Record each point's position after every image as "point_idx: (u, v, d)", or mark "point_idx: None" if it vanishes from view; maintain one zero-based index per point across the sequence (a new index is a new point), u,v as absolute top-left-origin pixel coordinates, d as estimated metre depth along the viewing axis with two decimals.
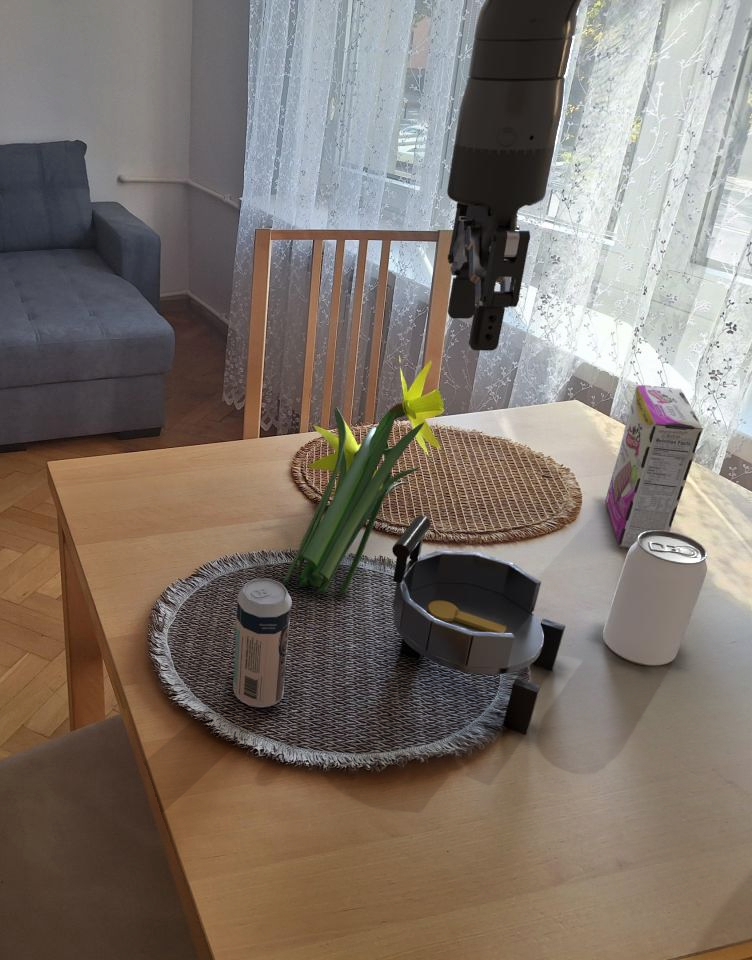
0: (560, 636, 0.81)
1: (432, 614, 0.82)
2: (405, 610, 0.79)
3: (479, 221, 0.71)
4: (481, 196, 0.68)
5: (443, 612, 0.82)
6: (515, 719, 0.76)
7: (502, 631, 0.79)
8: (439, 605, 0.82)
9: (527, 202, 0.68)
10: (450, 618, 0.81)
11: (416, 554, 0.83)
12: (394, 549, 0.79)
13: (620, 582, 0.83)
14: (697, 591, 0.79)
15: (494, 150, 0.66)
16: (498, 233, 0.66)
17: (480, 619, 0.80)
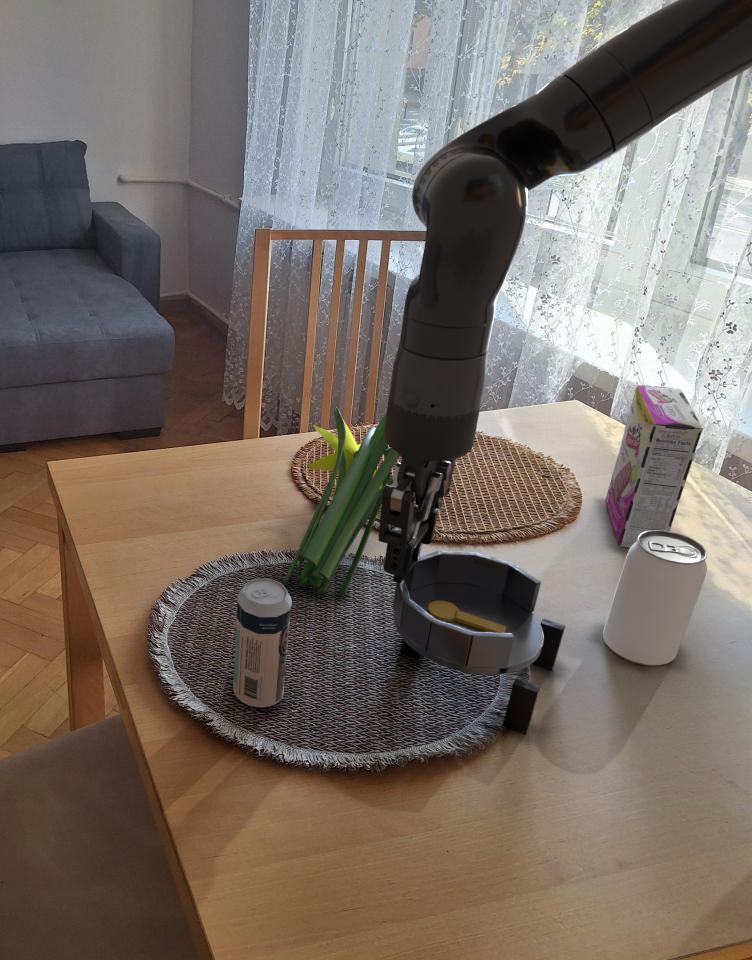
0: (560, 636, 0.81)
1: (432, 614, 0.82)
2: (404, 610, 0.79)
3: None
4: (394, 443, 0.74)
5: (443, 612, 0.82)
6: (515, 719, 0.76)
7: (502, 631, 0.79)
8: (439, 605, 0.82)
9: (433, 458, 0.73)
10: (450, 618, 0.81)
11: (416, 554, 0.83)
12: None
13: (620, 582, 0.83)
14: (697, 591, 0.79)
15: (402, 408, 0.72)
16: (385, 490, 0.73)
17: (480, 619, 0.80)
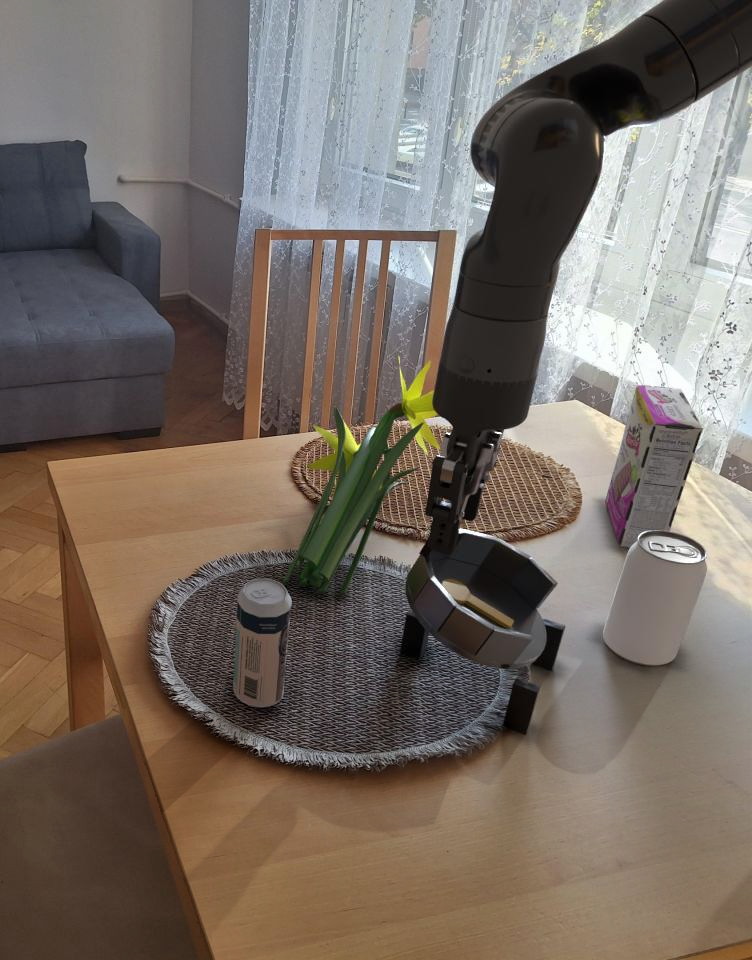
0: (560, 636, 0.81)
1: None
2: (426, 587, 0.76)
3: None
4: (444, 411, 0.71)
5: (456, 593, 0.80)
6: (515, 719, 0.76)
7: (510, 625, 0.78)
8: (452, 584, 0.81)
9: (487, 428, 0.69)
10: (462, 600, 0.79)
11: None
12: None
13: (620, 582, 0.83)
14: (697, 591, 0.79)
15: (455, 374, 0.69)
16: (435, 460, 0.69)
17: (490, 607, 0.79)
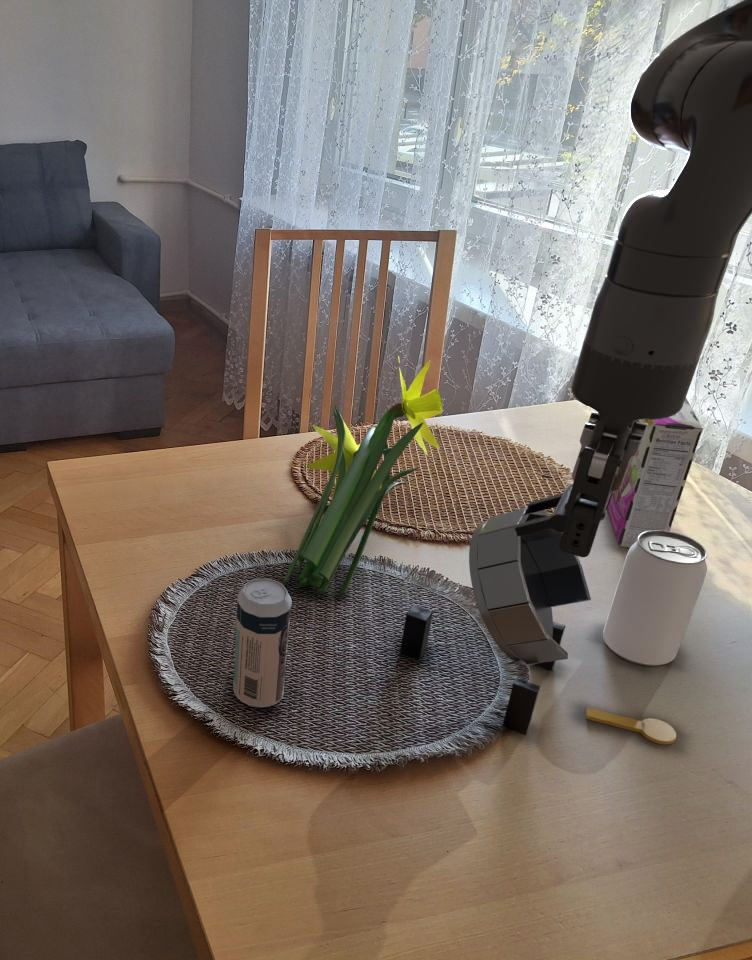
0: (560, 636, 0.81)
1: (666, 743, 0.74)
2: (506, 566, 0.71)
3: None
4: (591, 398, 0.64)
5: None
6: (515, 719, 0.76)
7: None
8: None
9: (642, 416, 0.62)
10: None
11: (539, 509, 0.74)
12: (557, 517, 0.69)
13: (620, 582, 0.83)
14: (697, 591, 0.79)
15: (608, 356, 0.61)
16: (584, 452, 0.62)
17: None
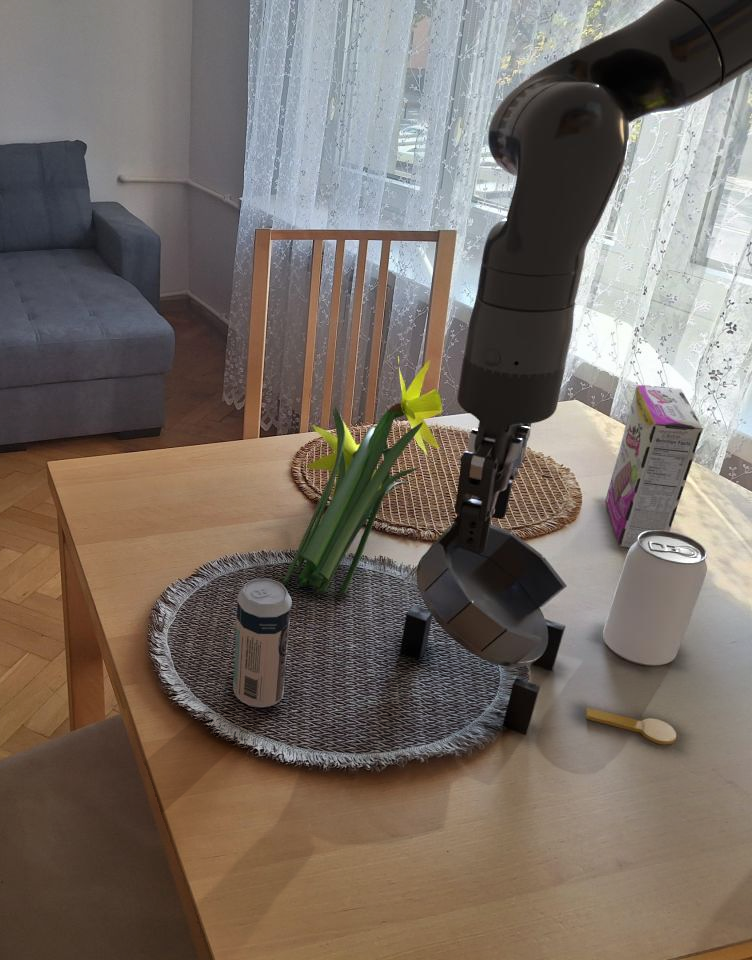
0: (560, 636, 0.81)
1: (666, 743, 0.74)
2: (442, 577, 0.75)
3: None
4: (471, 407, 0.69)
5: None
6: (515, 719, 0.76)
7: None
8: None
9: (516, 421, 0.67)
10: None
11: None
12: (460, 516, 0.74)
13: (620, 582, 0.83)
14: (697, 591, 0.79)
15: (481, 368, 0.67)
16: (464, 456, 0.68)
17: None
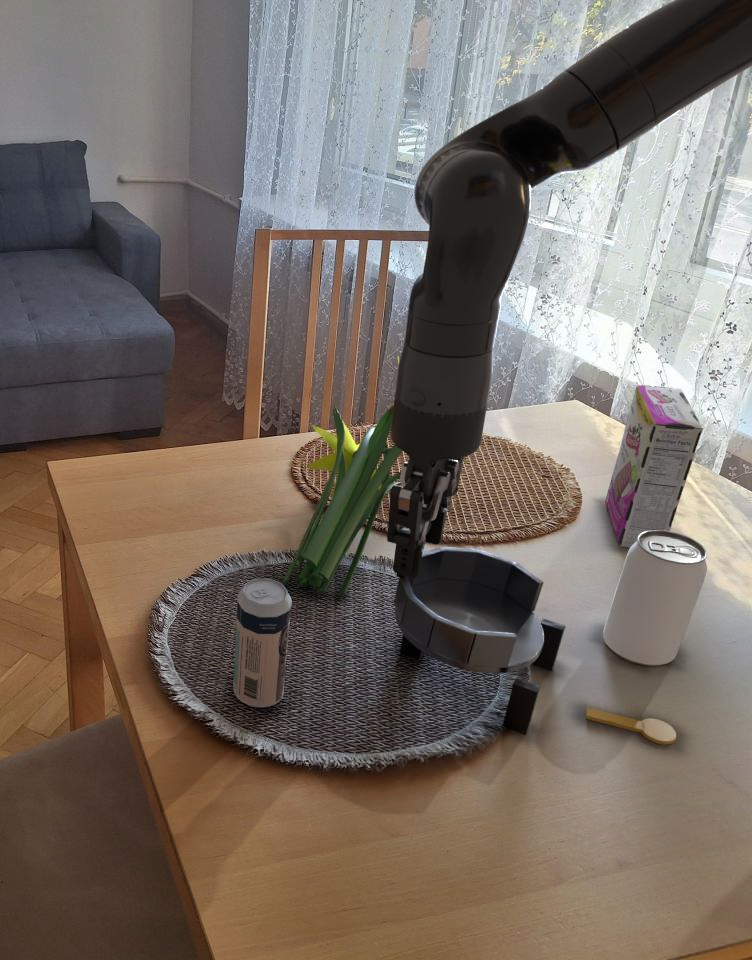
0: (560, 636, 0.81)
1: (666, 743, 0.74)
2: (407, 606, 0.78)
3: None
4: (401, 442, 0.74)
5: None
6: (515, 719, 0.76)
7: None
8: None
9: (441, 457, 0.72)
10: None
11: None
12: None
13: (620, 582, 0.83)
14: (697, 591, 0.79)
15: (408, 407, 0.72)
16: (393, 490, 0.72)
17: None
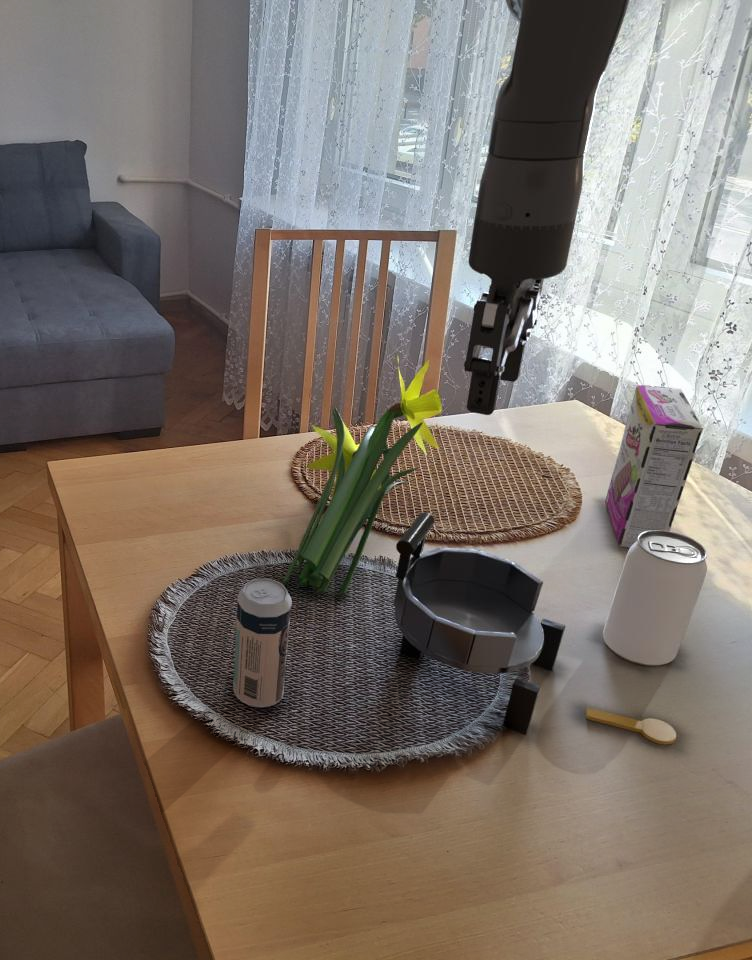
0: (560, 636, 0.81)
1: (666, 743, 0.74)
2: (406, 606, 0.78)
3: None
4: (482, 265, 0.70)
5: None
6: (515, 719, 0.76)
7: None
8: None
9: (526, 276, 0.69)
10: None
11: (419, 551, 0.83)
12: (398, 546, 0.79)
13: (620, 582, 0.83)
14: (697, 591, 0.79)
15: (493, 223, 0.68)
16: (477, 303, 0.69)
17: None
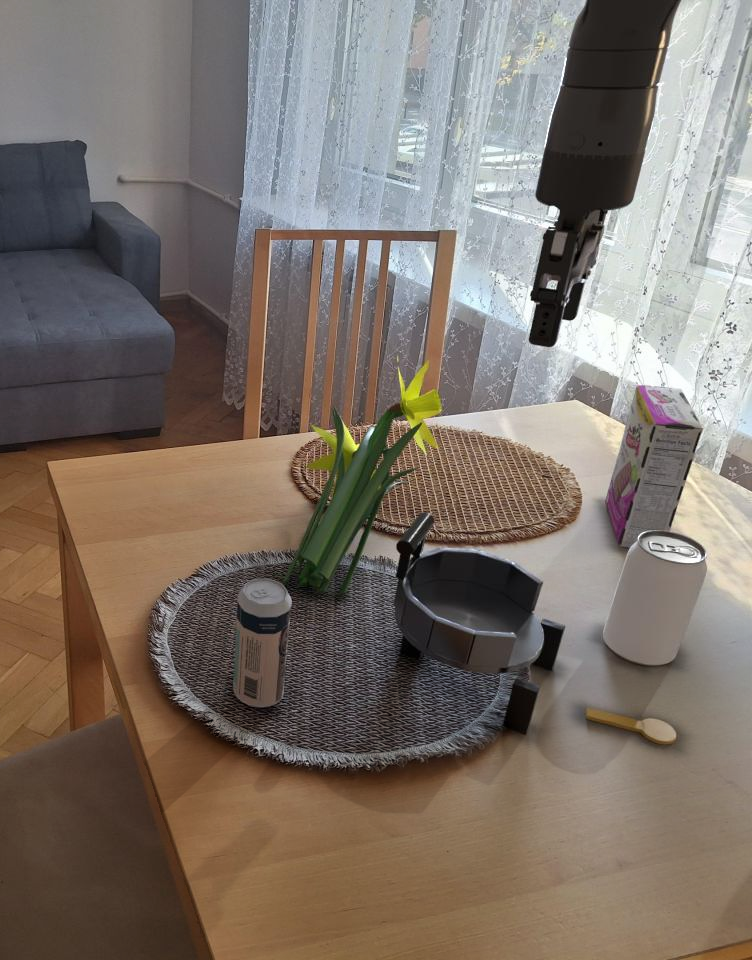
0: (560, 636, 0.81)
1: (666, 743, 0.74)
2: (406, 606, 0.78)
3: None
4: (551, 197, 0.72)
5: None
6: (515, 719, 0.76)
7: None
8: None
9: (596, 206, 0.70)
10: None
11: (419, 551, 0.83)
12: (398, 546, 0.79)
13: (620, 582, 0.83)
14: (697, 591, 0.79)
15: (564, 153, 0.70)
16: (547, 232, 0.70)
17: None
